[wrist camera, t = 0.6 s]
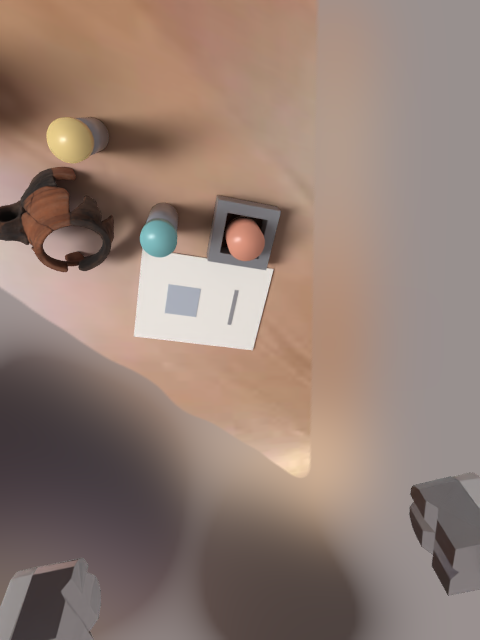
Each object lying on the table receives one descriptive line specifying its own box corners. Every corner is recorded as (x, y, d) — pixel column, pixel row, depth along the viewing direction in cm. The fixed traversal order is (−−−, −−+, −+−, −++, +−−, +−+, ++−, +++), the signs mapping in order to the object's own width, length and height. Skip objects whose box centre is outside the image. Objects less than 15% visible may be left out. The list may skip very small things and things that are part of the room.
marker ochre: (75, 112, 39) (46, 113, 31) (110, 120, 39) (91, 122, 32) (74, 149, 40) (46, 158, 32) (108, 156, 41) (89, 167, 33)
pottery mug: (99, 156, 41) (113, 205, 37) (111, 226, 49) (123, 273, 45) (-30, 165, 38) (-32, 222, 33) (4, 239, 45) (6, 293, 41)
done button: (228, 213, 44) (231, 221, 41) (263, 219, 45) (268, 228, 41) (222, 247, 46) (224, 258, 42) (255, 253, 46) (260, 263, 43)
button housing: (217, 194, 44) (218, 199, 42) (276, 206, 45) (280, 211, 43) (206, 254, 47) (207, 261, 45) (262, 263, 48) (266, 270, 46)
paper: (142, 247, 46) (142, 248, 46) (273, 268, 49) (273, 269, 49) (134, 335, 51) (133, 336, 51) (252, 349, 54) (252, 350, 54)
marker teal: (150, 199, 43) (141, 218, 36) (180, 204, 44) (179, 225, 36) (147, 229, 45) (138, 254, 37) (177, 234, 46) (174, 260, 38)
